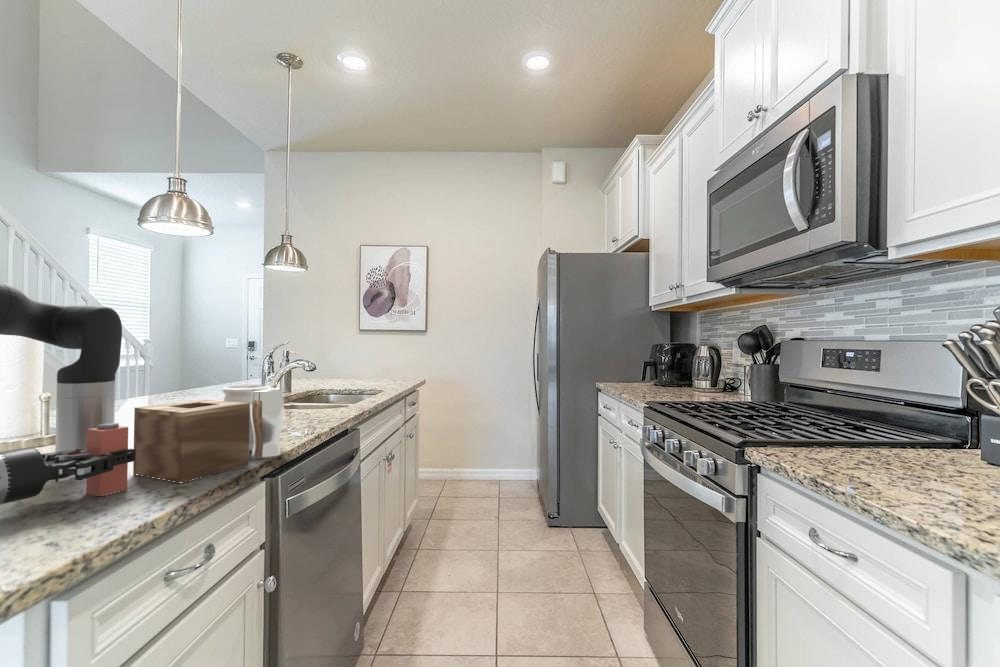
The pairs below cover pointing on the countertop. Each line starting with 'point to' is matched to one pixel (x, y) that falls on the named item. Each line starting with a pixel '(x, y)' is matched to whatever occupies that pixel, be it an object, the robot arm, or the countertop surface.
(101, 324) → the robot arm
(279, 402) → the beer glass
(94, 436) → the spice tin
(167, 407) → the slot box
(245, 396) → the jar
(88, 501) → the countertop surface
